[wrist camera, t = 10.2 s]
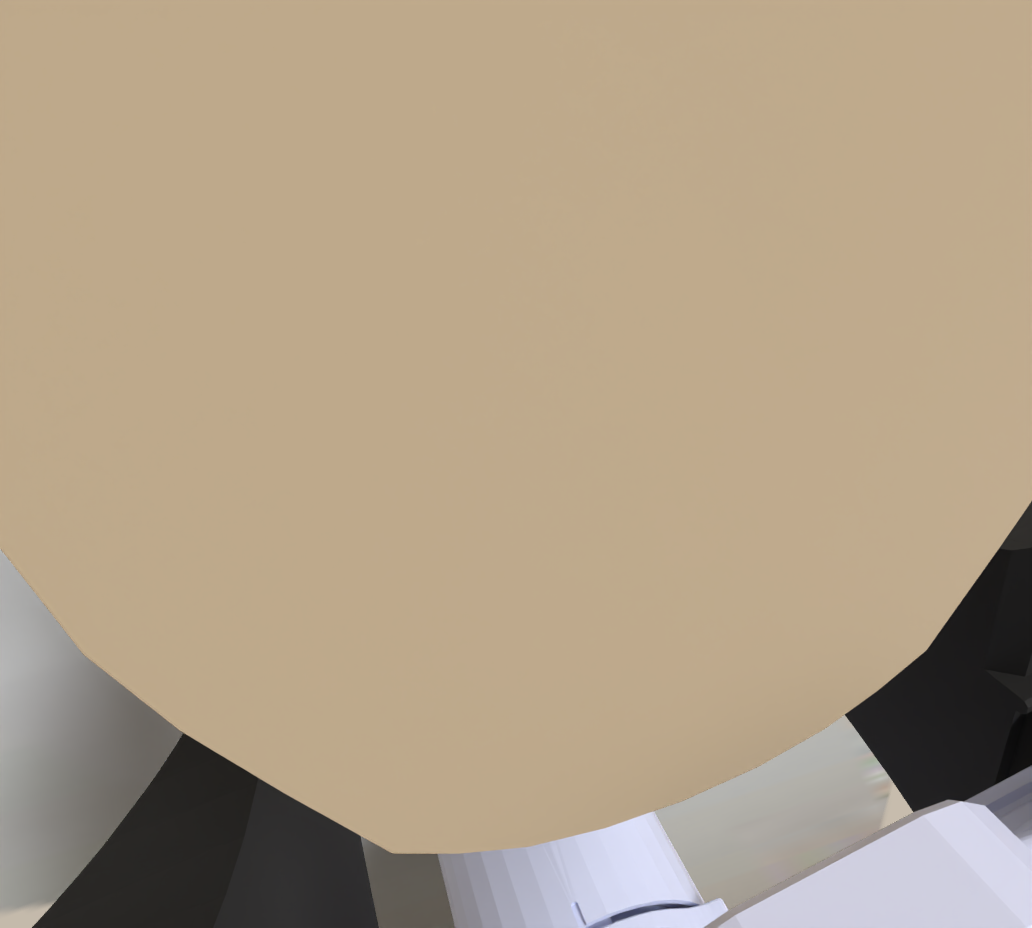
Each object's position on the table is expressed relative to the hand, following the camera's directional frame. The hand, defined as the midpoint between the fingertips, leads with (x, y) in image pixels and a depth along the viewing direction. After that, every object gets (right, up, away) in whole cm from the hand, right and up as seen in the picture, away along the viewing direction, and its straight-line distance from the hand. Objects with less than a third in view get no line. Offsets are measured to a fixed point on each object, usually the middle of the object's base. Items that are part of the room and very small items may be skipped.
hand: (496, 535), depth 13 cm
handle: (-4, +9, +2) cm, 10 cm away
